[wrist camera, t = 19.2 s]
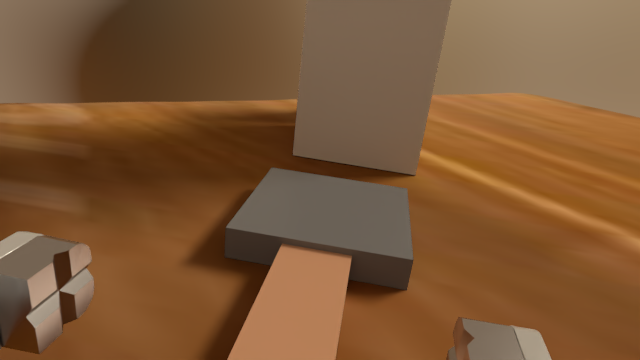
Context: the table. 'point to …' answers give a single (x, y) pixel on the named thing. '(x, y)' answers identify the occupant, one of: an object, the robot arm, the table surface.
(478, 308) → the table surface
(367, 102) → the tall grey box
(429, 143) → the table surface
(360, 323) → the table surface
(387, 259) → the toy hammer
